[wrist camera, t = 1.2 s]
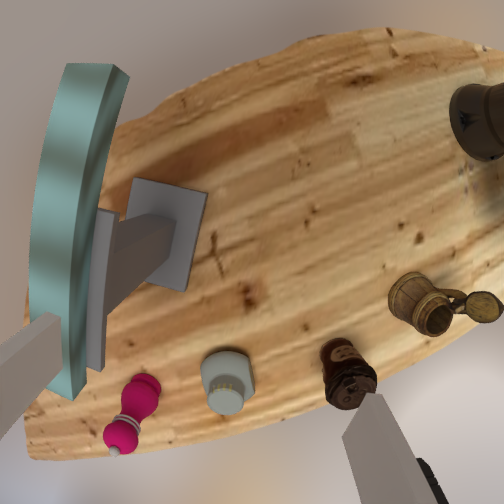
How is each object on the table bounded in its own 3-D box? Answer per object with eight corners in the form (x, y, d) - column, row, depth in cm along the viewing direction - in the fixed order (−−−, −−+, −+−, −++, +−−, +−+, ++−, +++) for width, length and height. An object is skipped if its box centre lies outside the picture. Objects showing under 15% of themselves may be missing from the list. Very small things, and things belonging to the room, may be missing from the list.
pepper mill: (125, 387, 56) (87, 452, 37) (137, 364, 55) (97, 432, 35) (155, 404, 57) (127, 474, 38) (169, 383, 56) (140, 456, 36)
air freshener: (256, 389, 56) (256, 424, 46) (214, 394, 56) (208, 428, 46) (246, 341, 53) (244, 373, 44) (200, 347, 54) (190, 378, 44)
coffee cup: (322, 327, 53) (339, 367, 40) (364, 333, 53) (389, 372, 40) (308, 368, 54) (320, 413, 42) (349, 372, 55) (368, 415, 42)
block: (86, 74, 18) (66, 63, 15) (130, 77, 18) (113, 64, 16) (52, 367, 24) (37, 383, 21) (86, 383, 24) (72, 401, 21)
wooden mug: (451, 292, 51) (507, 330, 34) (395, 326, 53) (440, 379, 35) (441, 252, 49) (503, 281, 32) (381, 287, 51) (430, 332, 33)
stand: (138, 177, 47) (24, 179, 20) (208, 193, 48) (148, 208, 21) (121, 269, 51) (21, 344, 23) (186, 288, 51) (125, 389, 24)
